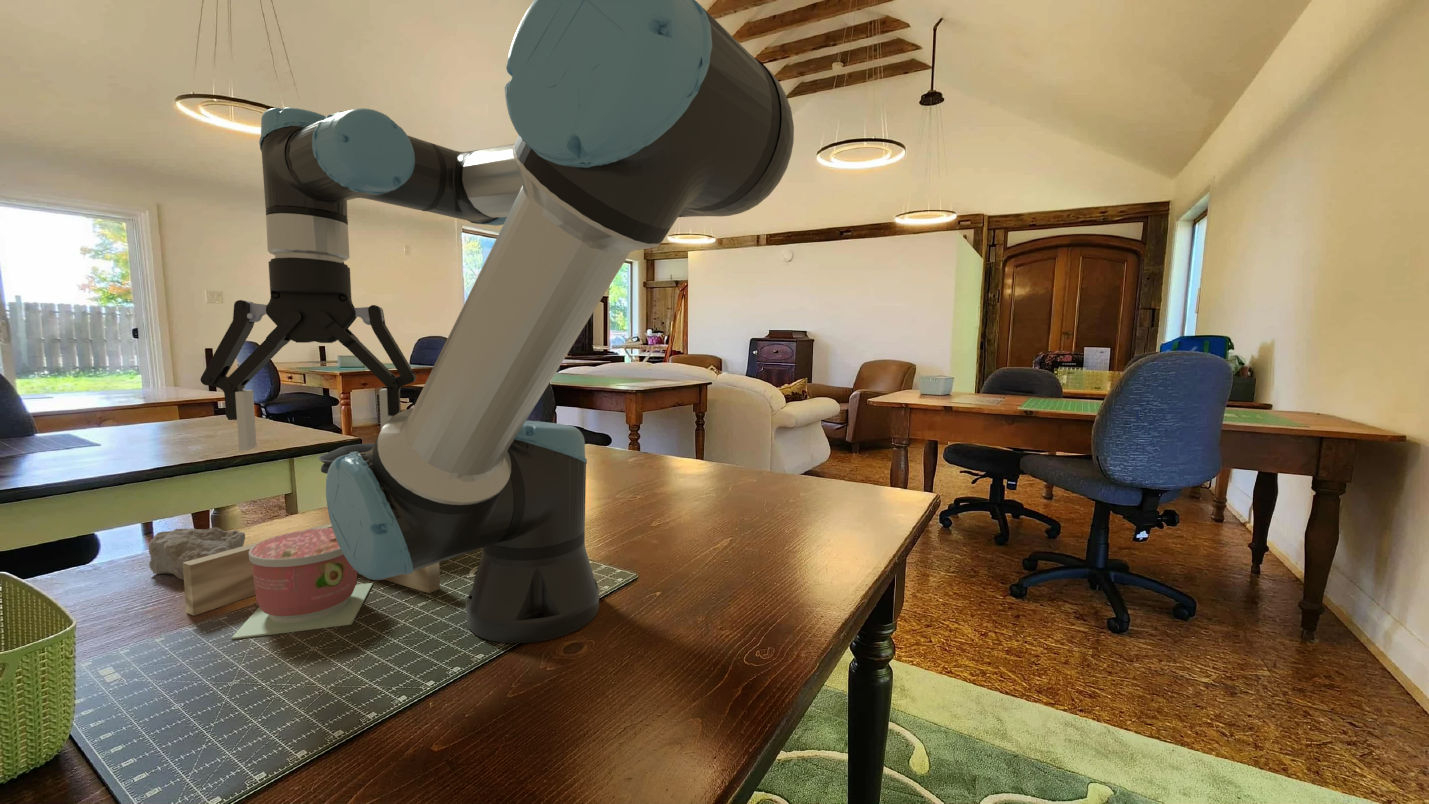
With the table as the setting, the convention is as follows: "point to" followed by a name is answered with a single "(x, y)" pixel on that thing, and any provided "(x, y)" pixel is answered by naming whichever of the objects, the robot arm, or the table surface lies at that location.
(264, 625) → the plate
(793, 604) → the table surface
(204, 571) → the corner walls
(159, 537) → the stone
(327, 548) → the container
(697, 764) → the table surface
